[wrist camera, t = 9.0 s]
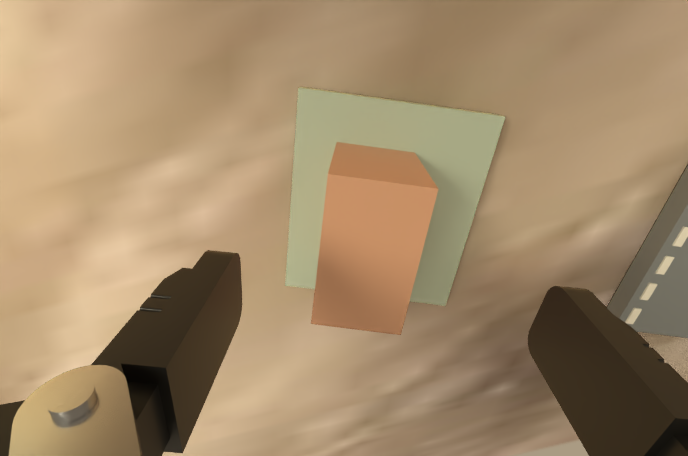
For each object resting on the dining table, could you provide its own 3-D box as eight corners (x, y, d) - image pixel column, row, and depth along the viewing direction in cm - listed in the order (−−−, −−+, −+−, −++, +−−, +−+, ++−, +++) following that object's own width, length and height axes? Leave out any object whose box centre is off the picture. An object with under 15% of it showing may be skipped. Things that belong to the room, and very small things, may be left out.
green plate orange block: (301, 86, 15) (271, 98, 10) (498, 114, 15) (572, 139, 10) (287, 277, 19) (261, 355, 14) (442, 297, 20) (473, 382, 14)
